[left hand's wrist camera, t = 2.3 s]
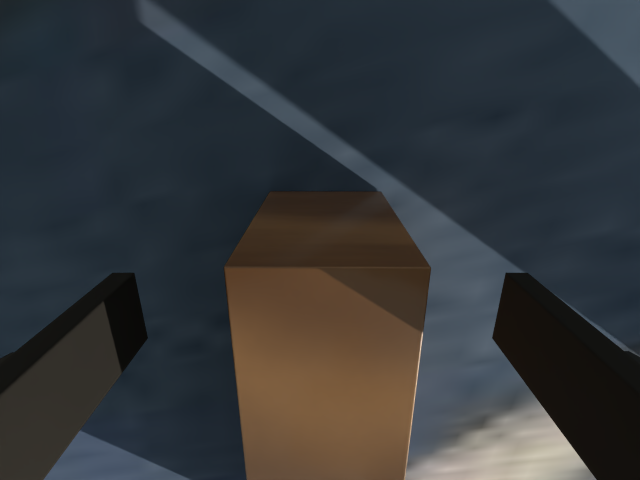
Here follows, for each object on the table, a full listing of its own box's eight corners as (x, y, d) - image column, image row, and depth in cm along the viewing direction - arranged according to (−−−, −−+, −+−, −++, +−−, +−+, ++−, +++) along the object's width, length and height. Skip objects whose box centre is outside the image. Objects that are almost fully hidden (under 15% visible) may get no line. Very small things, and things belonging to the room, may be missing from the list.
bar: (269, 191, 16) (222, 266, 9) (381, 191, 16) (432, 267, 9) (286, 523, 24) (270, 707, 17) (360, 523, 24) (376, 709, 17)
